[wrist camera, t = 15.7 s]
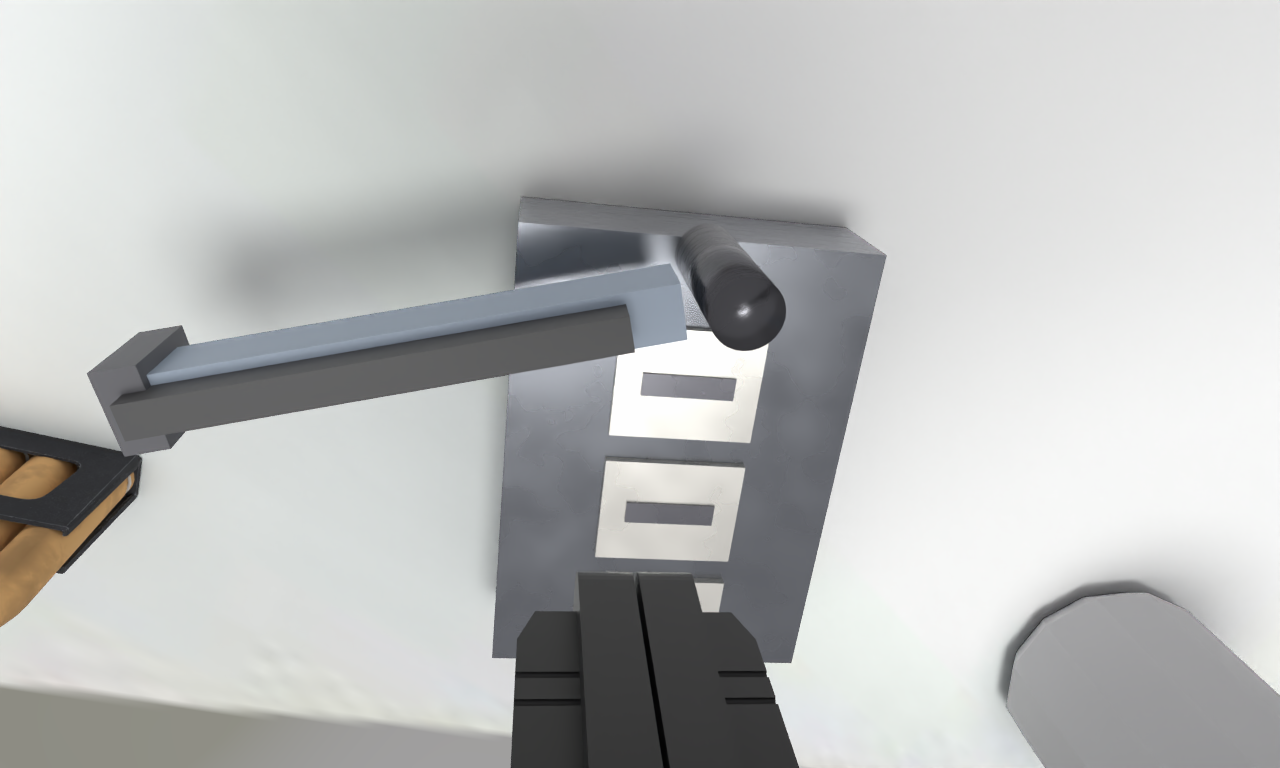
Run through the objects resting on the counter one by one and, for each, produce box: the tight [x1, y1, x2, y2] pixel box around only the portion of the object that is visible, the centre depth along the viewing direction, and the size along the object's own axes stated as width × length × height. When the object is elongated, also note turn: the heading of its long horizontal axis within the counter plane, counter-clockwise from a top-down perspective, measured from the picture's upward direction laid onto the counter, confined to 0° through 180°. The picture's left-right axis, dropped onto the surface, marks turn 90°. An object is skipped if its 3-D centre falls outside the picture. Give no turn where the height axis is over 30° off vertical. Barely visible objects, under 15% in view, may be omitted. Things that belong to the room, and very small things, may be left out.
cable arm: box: [87, 263, 688, 457], centre depth 23 cm, size 2×15×4 cm, turn 98°
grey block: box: [492, 197, 886, 663], centre depth 29 cm, size 12×18×10 cm
